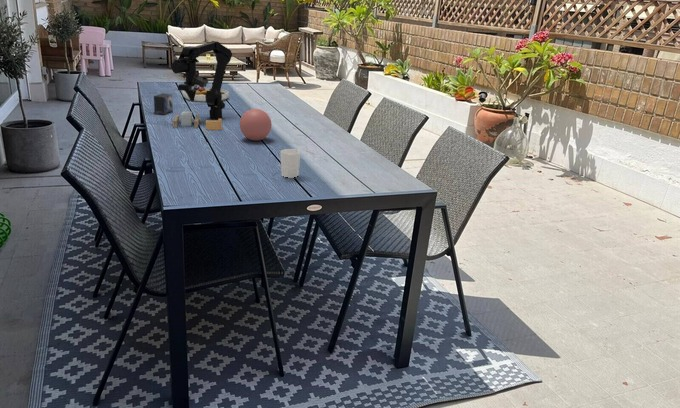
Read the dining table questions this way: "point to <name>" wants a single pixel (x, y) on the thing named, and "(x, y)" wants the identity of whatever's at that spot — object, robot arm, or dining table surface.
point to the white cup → (290, 162)
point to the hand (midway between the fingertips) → (192, 101)
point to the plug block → (186, 118)
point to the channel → (176, 121)
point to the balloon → (255, 124)
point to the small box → (163, 104)
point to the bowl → (204, 94)
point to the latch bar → (214, 125)
